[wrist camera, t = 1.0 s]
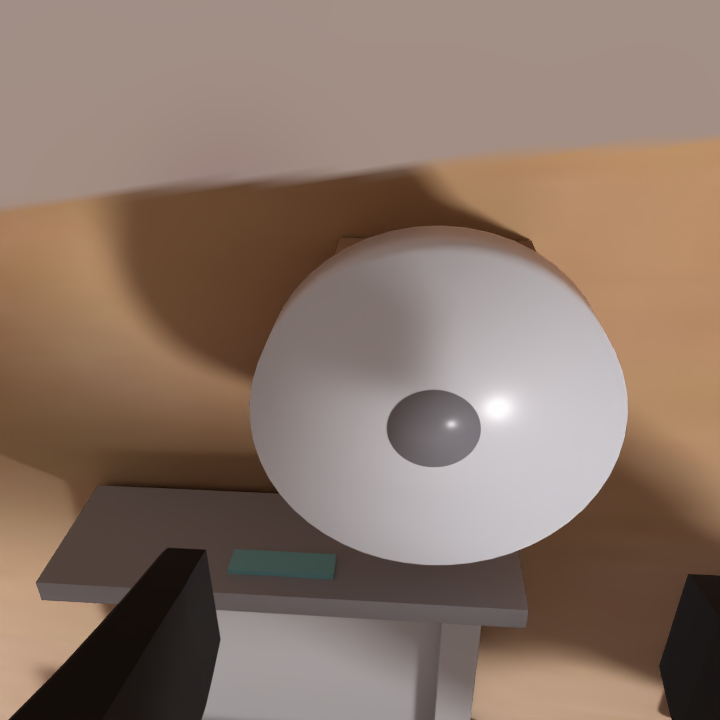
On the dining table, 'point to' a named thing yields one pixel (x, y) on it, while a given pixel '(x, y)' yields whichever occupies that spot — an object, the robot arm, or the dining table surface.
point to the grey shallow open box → (298, 605)
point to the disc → (438, 397)
